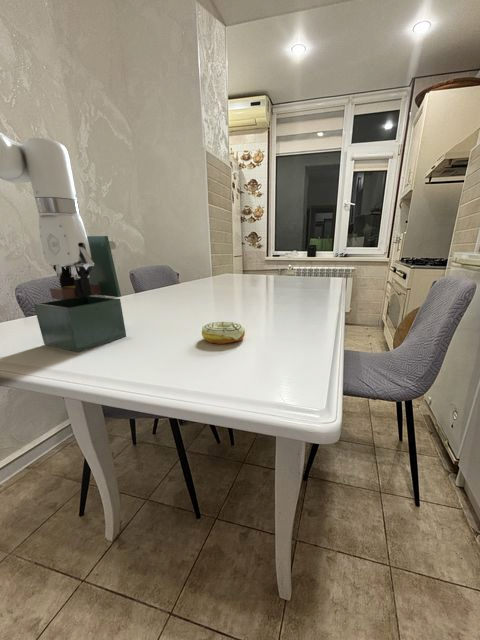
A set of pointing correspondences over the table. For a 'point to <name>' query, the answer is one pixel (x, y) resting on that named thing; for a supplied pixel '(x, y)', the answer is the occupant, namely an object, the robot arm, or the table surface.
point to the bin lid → (103, 266)
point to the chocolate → (71, 292)
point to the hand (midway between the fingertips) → (77, 294)
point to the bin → (80, 322)
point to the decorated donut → (223, 332)
